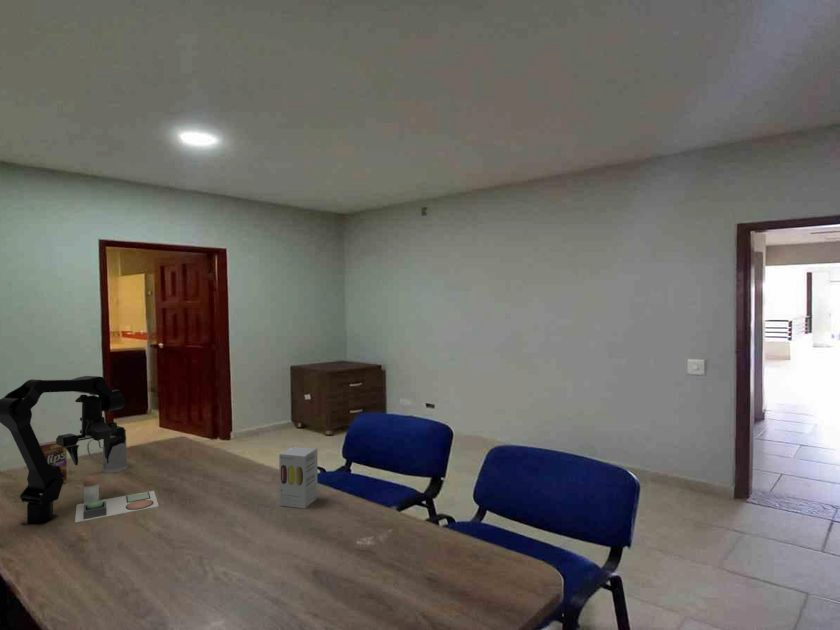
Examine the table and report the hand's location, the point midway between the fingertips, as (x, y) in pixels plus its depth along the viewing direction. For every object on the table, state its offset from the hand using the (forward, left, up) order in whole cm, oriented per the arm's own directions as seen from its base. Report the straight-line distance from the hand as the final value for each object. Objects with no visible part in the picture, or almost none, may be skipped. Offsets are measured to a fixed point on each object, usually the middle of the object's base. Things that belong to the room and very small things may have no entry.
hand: (91, 461), depth 167 cm
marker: (-6, -3, -12) cm, 14 cm away
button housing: (-12, -8, -12) cm, 19 cm away
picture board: (-6, -11, -13) cm, 18 cm away
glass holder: (+30, +12, -13) cm, 35 cm away
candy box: (+16, +24, -13) cm, 32 cm away
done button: (-12, -8, -10) cm, 18 cm away
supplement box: (-5, -68, -13) cm, 70 cm away
